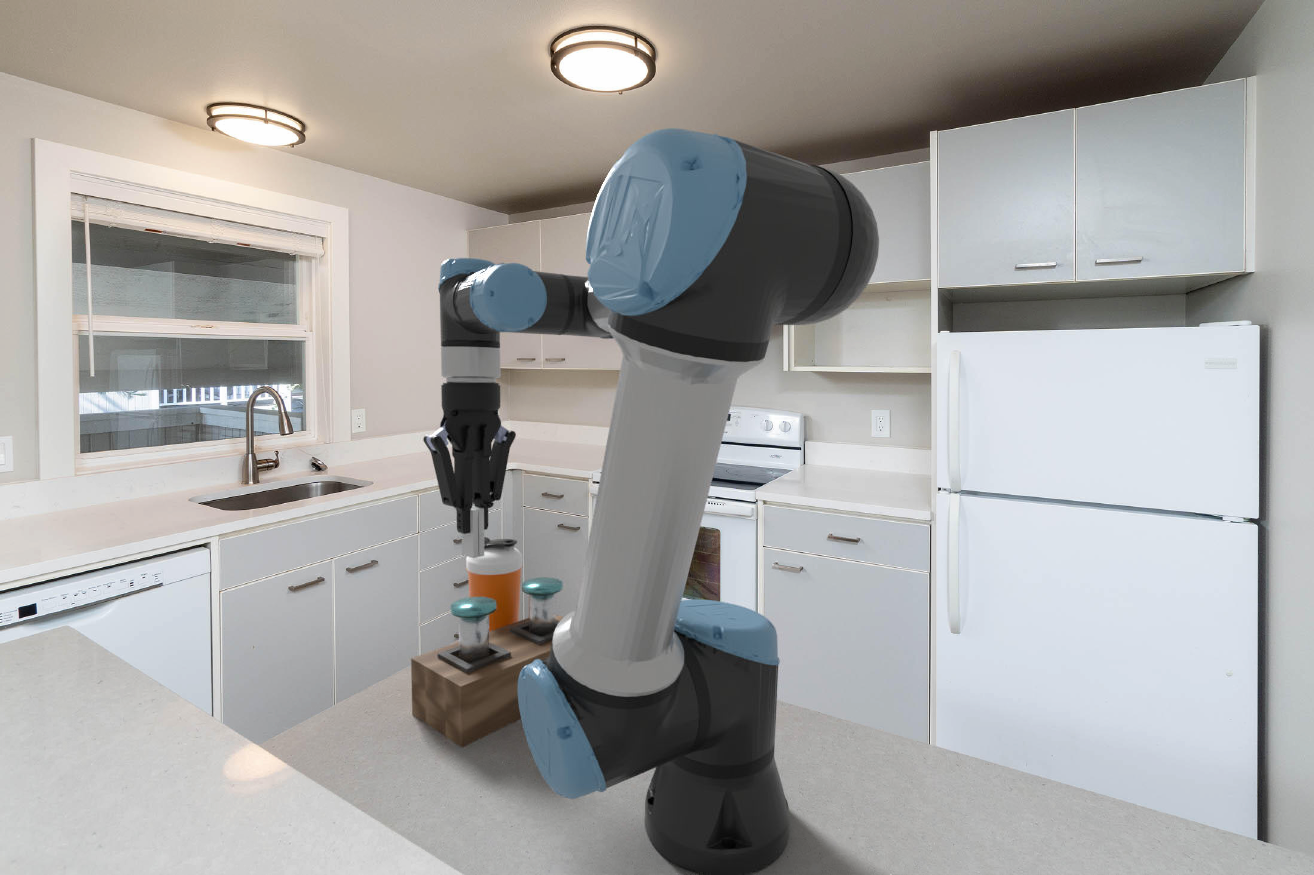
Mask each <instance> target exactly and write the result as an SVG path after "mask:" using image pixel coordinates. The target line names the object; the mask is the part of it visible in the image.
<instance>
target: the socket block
mask: <svg viewBox="0 0 1314 875" xmlns="http://www.w3.org/2000/svg"><path fill="white" fill-rule="evenodd" d="M564 617H565V616H561V615H558V614H556V627H557V625H558V623H559V622H560V621H561V620H562V619H563V618H564ZM553 635H554V632H552V633H549V634H547V635H544V636H541V637H539V636H537V635H535V634H532V633H530V632H529V617H527V618H524V619H522V620H519V621H518V622H515V623H512V624H509V625H506V626H503V627H501V628H498V629H495V630H492V631H489V656H488V657H486V658H483V659H481V660H478V661H475V662H473V663H470V664H469V663H467V662H465V661H463V660H461V659H459V641H458V642H455V643H451V644H448V645H445V646H443V647H440V648H437V649H435V650H431V651H428V652H425V653H423V654H419V655H417V656H414V657H411V658H410V663H411V664H410V672H411V710H412V716H415V717H416V718H417V719H419V720H421V722H423V723H424V724H426V725H428V726H429V727H431V728H432V729H433V730H435V731H437V732H438V733H440V734H441V735H442V736H444V737H445V738H447V739H448V740H450V741H451V742H453V743H454V744H456V745H457V746H459V747H461V748H463V747H465V746H468V745H469V744H470V745H471V744H472V743H473V742H476V741H479V740H480V739H482V738H484V737H486V736H487V735H488V736H489V735H490V734H493V733H495V732H496V731H499V730H500V729H502V728H504V727H507V726H509V725H510V724H513V723H515V722H516V721H519V720H521V715H520V710H519V703H518V679H519V675H520V672H521V670H522V669H523V667H525V666H526V665H528V664H531V663H533V661H534V660H536V659H540V660H545V659H547V658H548V657H549V656H550V650H551V645H552V639H553Z"/></svg>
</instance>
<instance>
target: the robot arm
mask: <svg viewBox="0 0 1314 875" xmlns="http://www.w3.org/2000/svg"><path fill="white" fill-rule="evenodd" d="M605 177H606V178H605V179H604V182H602V185H601V187H600V189H599V192H598V194H597V196H596V199H595V201H594V205H593V208H592V212H591V214H590V218H589V222H588V227H587V235H586V239H585V240H586V242H585V260H586V262H587V263H588V264H589V265H590V266H589V268H588V270H587V276H580V275H568V274H563V273H562V274H561V273H560V274H559V273H553V272H545V271H544V272H543V271H536V270H533V269H531V268H530V267H528V266H527V265H525V264H521V263H517V262H508V263H505V262H500V263H495V262H493V261H491V260H487V259H480V258H472V257H457V258H449V259H446V260H444V261H442V263H441V265H440V268H439V269H440V271H439V272H440V273H439V283H438V287H437V288H438V289H437V290H438V293H439V321H440V322H439V323H440V351H441V352H440V357H441V358H440V359H441V362H440V363H441V364H440V366H441V367H440V368H441V372H440V373H441V377H442V378H446V380H445V381H446V382H445V381H444V382H443V383H442V384H441V385H440V387H441V388H440V389H441V394H440V395H441V408H442V411H443V415H442V418H441V421H440V424H439V425H440V426H439V427H440V428H438V429H437V430H436V431H434V432H433V433H432V434H425V435H424V436H423V440H422V441H423V443H424V444H425V446H426V447H427V449H428V451H429V452H430V454H431V459H432V464H433V467H434V472H435V475H436V481H437V484H438V489H439V494H440V497H441V501H442V502H441V503H442V504H443V505H445V506H447V507H453V508H454V509H455V510H456V530H457V532H458V533H460V534H461V555H463V556H466V557H467V556H468V557H471V558H477V557H481V556H484V537H485V530H486V531H487V530H488V527H489V509H491V508H493V507H494V504H495V503H494V502H495V501H496V502H497V501H500V500H501V498H502V493H503V489H504V483H505V478H506V477H505V476H506V472H507V466H508V461H509V456H510V455H509V454H510V450H511V447H512V444H513V443H514V440H515V438H517V437H516V436H517V434H516V432H515V430H509V429H507V428H505V427H504V426H503V425H502V421H501V419H500V414H499V410H500V409H501V385H500V384H499V382H497V379H499V378H501V375H502V374H501V373H502V372H501V349H500V348H501V343H500V342H501V333H515V334H529V335H530V334H532V335H553V336H561V335H562V336H576V337H591V338H600V339H606V340H608V339H609V340H610V339H614V340H615V342H616V343H617V344H616V345H618V346H619V348H620V350H621V353H622V360H621V364H620V370H619V375H618V381H617V385H616V389H615V390H616V391H615V396H614V403H613V408H612V412H611V418H610V423H609V424H610V425H609V428H608V434H607V440H606V445H605V450H604V456H603V462H602V465H601V466H602V467H601V473H600V478H599V484H598V488H597V494H596V498H595V504H594V508H593V509H594V510H593V514H592V521H591V527H590V532H589V536H588V540H587V541H588V543H587V548H586V552H585V559H584V564H583V570H582V573H581V574H582V575H581V579H580V580H581V581H580V586H579V591H578V596H577V602H576V607H575V609H574V610H572V611H569V613H567V614H566V615H565V616H563V617H564V618H563V619H562V620H561V621H560V622H559V623H558V625H557V627H556V628H555V631H554V635H553V639H552V645H551V650H550V656H549V657H548V658H547V659H545V660H540V659H536V660H534V661H533V663H531V664H528V665H526V666H525V667H523V669H522V670H521V672H520V675H519V679H518V703H519V710H520V715H521V719H520V720H521V725H522V727H523V732H524V735H525V739H526V742H527V745H528V747H529V750H530V753H531V756H532V759H534V762H535V765H536V767H537V768H538V771H539V773H540V774H541V776H542V778H543V780H544V781H545V783H546V784H547V785H548V786H549V788H550V789H551V790H552V791H553V793H555V794H557V795H558V796H561V797H563V798H565V799H569V800H573V799H574V800H575V799H578V798H581V797H584V796H587V795H590V794H593V793H596V792H598V793H604V792H605V791H606V790H607V789H608V788H611V787H613V786H616V785H618V784H620V783H623V782H625V781H627V780H630V779H631V778H632V779H633V778H634V777H637V776H638V775H639V776H640V775H641V774H643V773H646V772H648V771H651V770H653V769H654V771H653V774H652V776H651V780H650V783H649V785H648V788H647V791H646V795H645V801H644V802H645V803H644V828H645V831H646V835H647V837H648V838H649V841H650V842H651V844H652V845H653V846H654V848H656V850H657V851H658V852H659V853H660V854H661V855H662V856H664V857H665V858H666V859H668V860H669V861H670V862H671V863H673V864H675V865H677V866H679V867H681V868H683V869H686V870H689V871H691V872H694V873H698V874H701V875H702V874H703V875H747V874H751V873H753V872H757V871H759V870H762V869H764V868H766V867H768V866H769V865H771V864H773V862H775V861H776V860H777V859H778V858H779V857H780V856H781V854H783V852H784V850H785V849H786V848H787V843H788V841H789V835H790V808H789V804H788V800H787V798H786V795H785V792H784V791H785V790H784V787H783V784H782V781H781V777H780V774H779V773H780V772H779V769H778V766H777V763H776V760H775V749H776V748H775V746H776V745H775V744H776V727H777V726H776V723H777V704H778V702H777V700H778V698H777V697H778V679H779V666H780V661H781V660H780V657H778V656H779V654H778V652H779V651H778V649H779V648H778V645H779V644H778V633H777V629H776V627H775V626H774V624H773V623H772V621H770V620H769V619H768V618H767V617H766V616H765V615H763V614H761V613H760V612H757V611H755V610H753V609H752V608H748V607H745V606H742V605H738V604H735V603H730V602H724V601H719V600H710V599H685V600H683V596H684V592H685V588H686V584H687V580H688V576H689V571H690V568H691V564H692V560H693V556H694V552H695V548H696V545H697V541H698V536H699V533H700V528H701V525H702V520H703V517H704V513H705V509H706V504H707V501H708V496H709V494H710V489H711V486H712V485H711V484H712V481H713V477H714V475H715V474H714V473H715V470H716V469H715V468H716V465H717V461H718V459H719V458H718V457H719V454H720V453H719V452H720V449H721V444H722V441H723V437H724V434H725V429H726V426H727V421H728V417H729V413H730V410H731V406H732V402H733V397H734V394H735V390H736V385H737V383H738V382H737V381H738V379H739V378H740V376H742V375H744V374H745V373H747V372H749V371H751V370H752V369H754V368H755V367H757V366H759V365H761V364H762V363H764V361H765V358H766V353H767V350H768V347H769V342H770V339H771V335H772V331H773V328H774V325H776V326H804V325H805V326H806V325H807V326H808V325H813V324H818V323H821V322H824V321H827V320H828V321H829V320H830V319H832V318H835V317H837V316H838V315H840V314H841V313H842V312H844V311H846V310H847V309H849V308H850V306H851V305H853V304H854V303H855V302H856V301H857V300H858V299H859V297H860V296H861V295H862V293H864V290H866V288H867V286H868V284H869V283H870V281H871V278H872V277H873V274H874V272H875V269H876V265H877V262H878V258H879V248H880V235H879V231H878V230H879V228H878V223H877V220H876V217H875V214H874V211H873V208H872V207H871V205H870V204H869V202H868V200H867V199H866V197H865V196H864V194H863V192H861V190H860V189H859V188H857V187H856V185H855V184H853V182H852V181H850V180H849V179H847V178H846V177H845V176H843V175H842V174H839V173H837V172H835V171H834V170H831V169H828V168H825V167H823V166H819V165H815V164H809V163H805V162H803V161H800V160H796V159H793V158H790V157H787V156H784V155H782V154H778V153H776V152H773V151H772V152H771V151H769V150H766V149H763V148H760V147H757V146H755V145H751V144H748V143H745V142H742V141H739V140H736V139H734V138H731V137H728V136H722V135H721V136H720V135H718V133H713V134H712V133H711V134H710V133H705V132H699V131H695V130H694V131H693V130H687V129H682V128H677V127H676V128H675V127H674V128H673V127H669V128H662V129H657V130H655V131H652V132H650V133H647V134H646V135H644V136H642V137H640V138H638V139H637V140H636V141H635V142H634V143H633V144H631V145H630V146H629V147H627V149H626V150H625V152H624V153H623V154H622V157H621V158H620V159H618V160H616V162H615V163H614V164H613V166H612V167H611V169H610V170H609V172H608V174H607V176H605ZM449 443H450V444H451V453H450V451H449V450H450V449H449V448H448V445H449ZM451 456H452V457H453V460H454V461H453V462H452V458H451ZM453 463H454V464H453ZM473 504H474V505H473Z"/></svg>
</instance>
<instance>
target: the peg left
mask: <svg viewBox="0 0 1314 875" xmlns="http://www.w3.org/2000/svg"><path fill="white" fill-rule="evenodd" d="M495 611H496V601H495V600H494V599H492V598H488V597H465V598H460V599H458V600H455V601H454V602H452V603H451V604H450V614H451V615H452V616H454V617H457V618H458V642H459V659H461V660H463V661H465V662H467V663H469V664H470V663H473V662H475V661H478V660H481V659H483V658H486V657H488V656H489V614H491V613H493V612H495Z"/></svg>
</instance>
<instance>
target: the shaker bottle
mask: <svg viewBox="0 0 1314 875" xmlns="http://www.w3.org/2000/svg"><path fill="white" fill-rule="evenodd" d="M517 543H518V540H517V539H514V538H499V539H498V538H497V539H490V538H489V537H487V536H484V556H481V557H477V558H471V557H468V556H466V559H465V561H466V562H465V563H466V570H465V571H466V572H467V579H468V593H469V597H488V598H492V599H494V600H495V601H496V611H495V612H493V613H491V614H489V631H492V630H495V629H498V628H501V627H503V626H506V625H509V624H512V623H515V622H518V621H520V602H521V601H520V600H521V582H522V581H521V577H522V568H523V567H524V566H523V554H522V553H521V551H520V550H519V549H518V548H516V547H515V545H516V544H517ZM469 597H468V598H469Z"/></svg>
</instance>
